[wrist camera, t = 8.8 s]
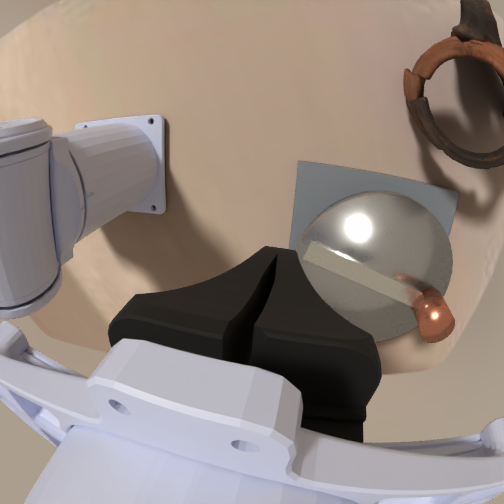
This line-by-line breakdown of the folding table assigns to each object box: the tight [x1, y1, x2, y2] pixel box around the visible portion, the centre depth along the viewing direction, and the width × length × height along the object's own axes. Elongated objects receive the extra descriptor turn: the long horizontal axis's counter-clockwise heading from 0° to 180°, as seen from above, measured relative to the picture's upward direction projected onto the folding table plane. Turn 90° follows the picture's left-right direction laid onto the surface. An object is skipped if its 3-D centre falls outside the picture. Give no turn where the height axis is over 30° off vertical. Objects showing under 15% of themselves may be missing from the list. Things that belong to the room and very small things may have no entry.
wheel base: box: [289, 161, 459, 250], centre depth 20 cm, size 12×12×1 cm
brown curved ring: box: [404, 0, 504, 169], centre depth 11 cm, size 12×10×8 cm
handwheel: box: [296, 190, 455, 343], centre depth 17 cm, size 11×11×6 cm
